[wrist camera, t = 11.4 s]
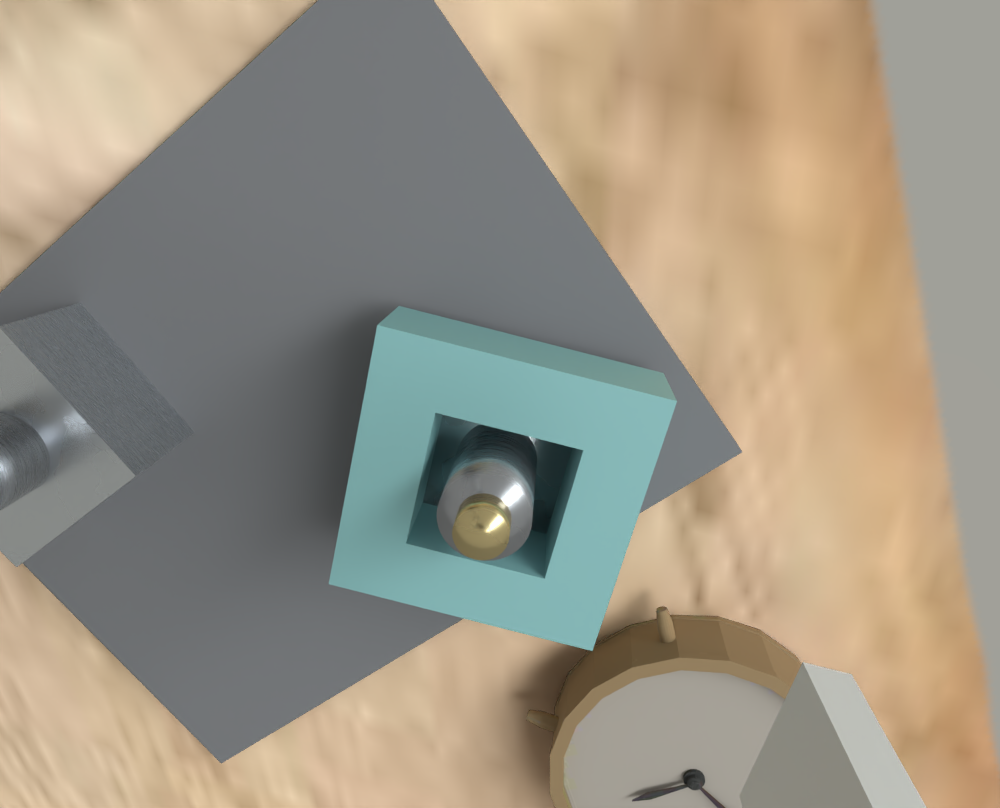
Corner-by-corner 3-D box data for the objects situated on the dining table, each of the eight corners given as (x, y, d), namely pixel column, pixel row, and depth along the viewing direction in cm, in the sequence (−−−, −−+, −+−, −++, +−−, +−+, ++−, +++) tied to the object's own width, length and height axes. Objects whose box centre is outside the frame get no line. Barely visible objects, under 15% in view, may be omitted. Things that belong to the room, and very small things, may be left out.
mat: (-111, 404, 29) (-129, 411, 28) (394, -57, 22) (388, -65, 22) (229, 749, 33) (221, 763, 32) (736, 443, 27) (742, 452, 26)
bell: (346, 422, 27) (281, 500, 20) (524, 294, 25) (511, 338, 19) (477, 582, 28) (454, 698, 22) (654, 474, 26) (682, 569, 20)
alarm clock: (702, 592, 26) (1003, 904, 25) (695, 541, 30) (949, 803, 30) (483, 763, 29) (750, 1041, 29) (508, 692, 33) (737, 930, 33)
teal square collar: (353, 539, 27) (328, 584, 24) (399, 305, 24) (377, 324, 21) (589, 599, 27) (592, 651, 24) (663, 372, 24) (677, 401, 21)
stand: (-25, 394, 28) (-268, 490, 19) (80, 302, 26) (-136, 365, 18) (88, 514, 29) (-96, 650, 21) (194, 432, 27) (41, 545, 19)
